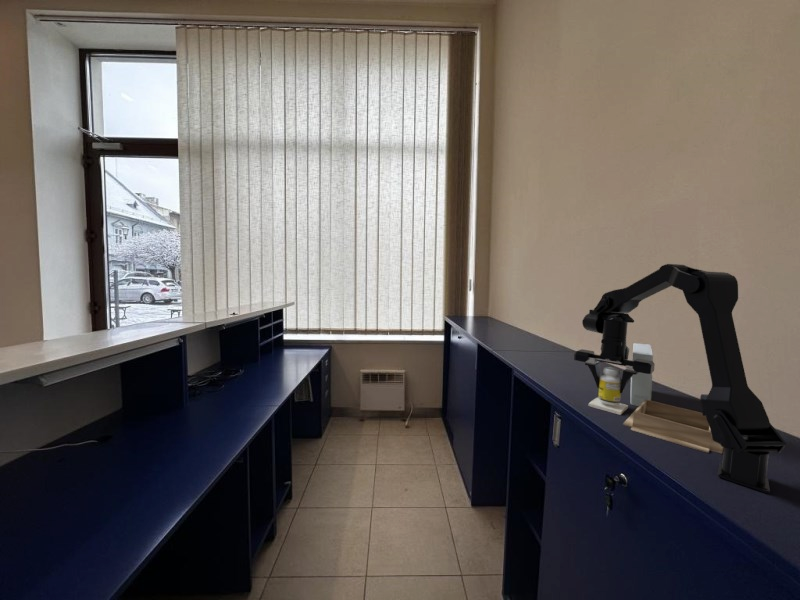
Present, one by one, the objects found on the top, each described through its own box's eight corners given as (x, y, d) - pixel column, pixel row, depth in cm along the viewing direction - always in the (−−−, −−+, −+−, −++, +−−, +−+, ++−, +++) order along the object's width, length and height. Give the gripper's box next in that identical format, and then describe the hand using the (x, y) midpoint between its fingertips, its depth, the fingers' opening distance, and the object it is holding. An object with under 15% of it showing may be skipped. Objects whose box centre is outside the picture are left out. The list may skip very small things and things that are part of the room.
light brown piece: (721, 457, 69) (723, 438, 69) (620, 426, 82) (622, 411, 82) (724, 432, 81) (726, 416, 81) (636, 409, 94) (638, 395, 94)
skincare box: (629, 387, 116) (633, 342, 115) (648, 390, 112) (653, 344, 111) (628, 404, 98) (632, 351, 97) (650, 409, 95) (655, 354, 94)
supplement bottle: (597, 397, 99) (600, 365, 98) (619, 401, 96) (622, 368, 95) (598, 402, 94) (600, 369, 93) (620, 407, 91) (623, 372, 91)
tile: (620, 415, 90) (620, 412, 89) (588, 405, 95) (588, 403, 95) (627, 407, 95) (628, 405, 95) (596, 399, 101) (597, 397, 101)
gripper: (660, 339, 93) (655, 393, 94) (587, 329, 106) (583, 377, 107) (652, 343, 85) (647, 402, 86) (575, 332, 98) (571, 383, 99)
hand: (609, 390), depth 95 cm, fingers closed on supplement bottle, 5 cm apart
